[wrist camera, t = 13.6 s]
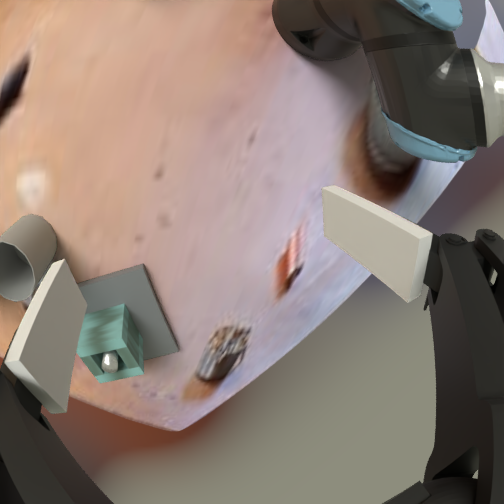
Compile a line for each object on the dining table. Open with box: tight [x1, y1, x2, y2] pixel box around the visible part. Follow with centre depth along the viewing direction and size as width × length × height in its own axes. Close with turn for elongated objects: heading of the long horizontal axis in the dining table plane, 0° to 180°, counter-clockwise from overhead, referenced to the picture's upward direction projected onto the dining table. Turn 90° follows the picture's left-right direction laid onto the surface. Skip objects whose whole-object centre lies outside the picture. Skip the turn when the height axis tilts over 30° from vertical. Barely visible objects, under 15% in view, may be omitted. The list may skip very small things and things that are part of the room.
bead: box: [76, 304, 144, 383], centre depth 38 cm, size 8×8×8 cm
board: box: [77, 264, 179, 361], centre depth 42 cm, size 18×18×2 cm
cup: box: [0, 214, 57, 302], centre depth 28 cm, size 8×8×10 cm
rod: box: [102, 350, 118, 373], centre depth 38 cm, size 2×2×9 cm
